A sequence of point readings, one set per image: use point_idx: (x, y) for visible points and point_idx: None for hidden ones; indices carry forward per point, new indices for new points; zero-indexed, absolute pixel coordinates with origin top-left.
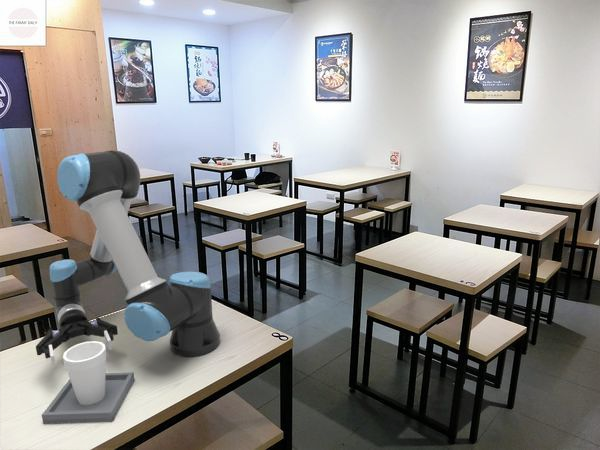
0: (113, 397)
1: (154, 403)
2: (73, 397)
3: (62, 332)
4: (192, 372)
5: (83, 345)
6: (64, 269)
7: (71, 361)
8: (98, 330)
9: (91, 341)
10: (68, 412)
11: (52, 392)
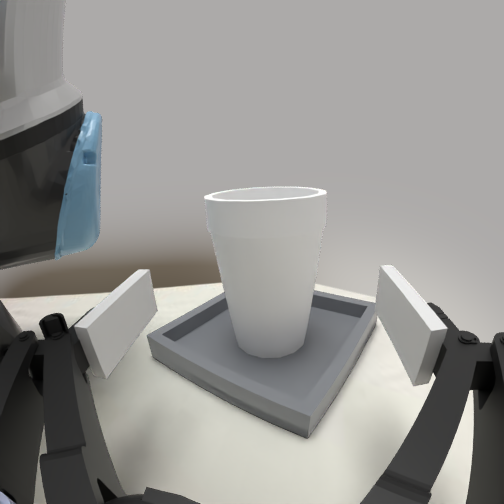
0: (228, 318)
1: (176, 297)
2: (315, 351)
3: (394, 478)
4: (73, 318)
5: (259, 207)
6: None
7: (304, 187)
8: (79, 388)
9: (228, 200)
10: (325, 295)
11: (380, 415)
